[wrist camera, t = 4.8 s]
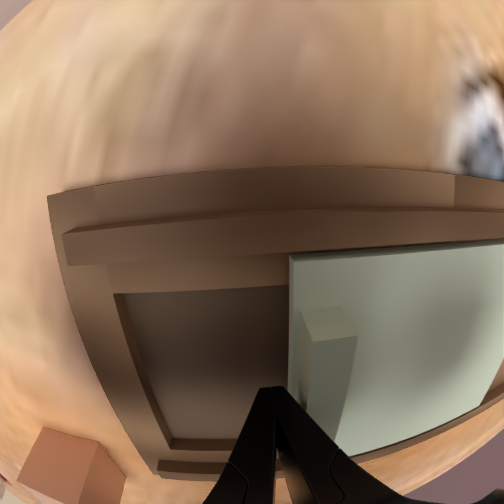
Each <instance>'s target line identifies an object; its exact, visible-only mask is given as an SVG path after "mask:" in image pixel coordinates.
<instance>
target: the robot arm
mask: <svg viewBox="0 0 504 504" xmlns="http://www.w3.org/2000/svg"><path fill="white" fill-rule="evenodd" d="M277 451H278V455H279V458H280V462H281V465H282V469H283V473H284V476H285V480H286V483H287V486H288V490H289V493H290V497H291V500H292V504H443V503H434V502H427V501H420V500H414V499H410V498H407V497H404V496H402V495H400V494H398V493H397V492H395V491H393V490H392V489H390V488H389V487H388V486H386V485H385V484H383V483H382V482H380V481H379V480H377V479H376V478H375V477H373V476H372V475H370V474H369V473H368V472H366V471H365V470H364V469H363V468H361V467H360V466H359V465H357V464H356V463H355V462H354V461H353V460H352V459H351V458H350V457H349V456H348V455H347V454H346V453H345V452H344V451H343V450H342V449H341V448H339V446H338V445H337V444H336V443H335V442H334V441H333V440H332V439H331V438H330V437H329V436H328V435H327V434H326V433H325V432H324V430H323V429H322V428H321V427H320V426H319V425H318V424H317V423H316V422H315V421H314V420H313V419H312V418H311V416H310V415H309V414H308V413H307V412H306V411H305V410H304V409H303V408H302V406H301V405H300V404H299V403H298V402H297V401H296V400H295V399H294V397H293V396H292V395H291V394H290V393H289V392H288V391H287V390H286V388H285V387H284V386H282V385H281V386H272V387H261V388H259V389H258V392H257V394H256V396H255V399H254V401H253V404H252V406H251V408H250V411H249V413H248V416H247V418H246V420H245V423H244V425H243V427H242V430H241V432H240V434H239V436H238V439H237V441H236V443H235V446H234V448H233V450H232V452H231V454H230V457H229V459H228V462H227V463H226V465H225V467H224V469H223V471H222V473H221V475H220V477H219V479H218V481H217V483H216V484H215V486H214V487H213V489H212V491H211V492H210V494H209V495H208V496H207V498H206V499H205V501H204V502H203V503H202V504H275V486H276V458H277ZM472 504H504V489H495V490H494V491H492V492H491V493H490V494H488V495H487V496H485V497H484V498H483V499H481V500H480V501H478V502H475V503H472Z"/></svg>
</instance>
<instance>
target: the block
mask: <svg viewBox="0 0 504 504" xmlns="http://www.w3.org/2000/svg"><path fill="white" fill-rule="evenodd" d="M125 480H126V476H125V475H124V474H123V472H122V471H121V470H120V469H119V468H118V466H117V465H116V464H115V463H114V461H113V460H112V459H111V457H110V456H109V455H108V454H107V452H106V451H105V450H104V448H103V447H102V445H101V444H100V443H99V442H96V441H92V440H88V439H83V438H79V437H75V436H71V435H68V434H64V433H61V432H57V431H54V430H51V429H48V428H44V427H43V428H42V430H41V432H40V434H39V436H38V438H37V440H36V442H35V444H34V445H33V447H32V449H31V451H30V453H29V455H28V457H27V459H26V461H25V463H24V466H23V468H22V470H21V472H20V474H19V476H18V478H17V482H18V483H19V484H20V485H22V486H23V487H24V488H25V489H26V490H27V491H29V492H30V493H31V494H32V495H33V496H35V497H36V498H37V499H38V500H40V501H41V502H42V503H44V504H120V501H121V496H122V492H123V488H124V484H125Z"/></svg>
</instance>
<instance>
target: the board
mask: <svg viewBox="0 0 504 504" xmlns="http://www.w3.org/2000/svg"><path fill="white" fill-rule="evenodd" d="M47 202H48V209H49V216H50V222H51V228H52V234H53V239H54V244H55V249H56V253H57V258H58V262H59V266H60V271H61V274H62V278H63V282H64V286H65V289H66V293H67V296H68V300H69V303H70V306H71V309H72V312H73V315H74V318H75V321H76V324H77V327H78V330H79V333H80V335H81V338H82V341H83V343H84V346H85V348H86V351H87V353H88V356H89V358H90V361H91V363H92V365H93V368H94V370H95V372H96V375H97V377H98V379H99V381H100V383H101V385H102V388H103V390H104V392H105V394H106V396H107V398H108V400H109V402H110V404H111V406H112V408H113V409H114V411H115V413H116V415H117V417H118V419H119V420H120V422H121V424H122V426H123V428H124V429H125V431H126V433H127V434H128V436H129V438H130V439H131V441H132V443H133V444H134V446H135V447H136V449H137V451H138V452H139V454H140V455H141V457H142V458H143V460H144V461H145V463H146V464H147V466H148V467H149V469H150V470H151V471H152V473H153V474H155V475H160V476H161V478H165V479H175V480H189V481H218V479H219V477H220V475H221V473H222V471H223V469H224V467H225V465H226V463H227V462H228V459H229V457H230V454H231V452H232V450H233V448H234V446H235V443H236V441H237V439H238V436H239V434H240V432H241V430H242V427H243V425H244V423H245V420H246V418H247V416H248V413H249V411H250V408H251V406H252V404H253V401H254V399H255V396H256V394H257V392H258V389H259V388H261V387H272V386H281V385H282V386H284V387H285V388H286V390H288V357H289V254H302V253H317V252H331V251H345V250H360V249H374V248H388V247H401V246H415V245H429V244H442V243H455V242H468V241H481V240H494V239H504V181H498V180H492V179H486V178H479V177H472V176H464V175H457V174H448V173H439V172H429V171H417V170H404V169H389V168H368V167H268V168H247V169H230V170H217V171H204V172H194V173H183V174H174V175H165V176H157V177H149V178H142V179H135V180H128V181H121V182H115V183H109V184H103V185H97V186H91V187H86V188H81V189H76V190H71V191H66V192H61V193H57V194H53V195H49V196H47ZM502 399H504V359H503V361H502V363H501V365H500V367H499V369H498V371H497V373H496V375H495V377H494V379H493V381H492V383H491V385H490V387H489V389H488V391H487V393H486V394H485V396H484V398H483V400H482V401H481V403H480V405H479V406H477V407H476V408H474V409H472V410H470V411H468V412H466V413H464V414H462V415H460V416H458V417H456V418H454V419H452V420H450V421H448V422H446V423H444V424H442V425H439V426H437V427H435V428H432V429H430V430H428V431H425V432H423V433H420V434H418V435H415V436H413V437H410V438H407V439H405V440H402V441H399V442H396V443H393V444H390V445H387V446H384V447H381V448H377V449H374V450H371V451H367V452H364V453H360V454H356V455H352V456H349V457H350V458H351V459H352V460H353V461H354V462H355V463H356V464H358V463H361V462H365V461H369V460H372V459H375V458H379V457H382V456H385V455H388V454H391V453H394V452H397V451H399V450H402V449H405V448H408V447H410V446H413V445H415V444H418V443H420V442H423V441H425V440H427V439H430V438H432V437H434V436H437V435H439V434H441V433H443V432H445V431H447V430H449V429H451V428H453V427H455V426H457V425H459V424H461V423H463V422H465V421H467V420H469V419H471V418H472V417H474V416H476V415H478V414H479V413H481V412H483V411H485V410H486V409H488V408H490V407H491V406H493V405H494V404H496V403H498V402H499V401H501V400H502ZM276 478H285V476H284V473H283V469H282V465H281V462H280V458H279V455H278V451H277V458H276Z"/></svg>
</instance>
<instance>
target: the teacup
mask: <svg viewBox="0 0 504 504" xmlns="http://www.w3.org/2000/svg"><path fill="white" fill-rule="evenodd" d="M4 492H5V483H4V480H3V478H2V476H1V475H0V501H1V500H2V498H3V494H4Z"/></svg>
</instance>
